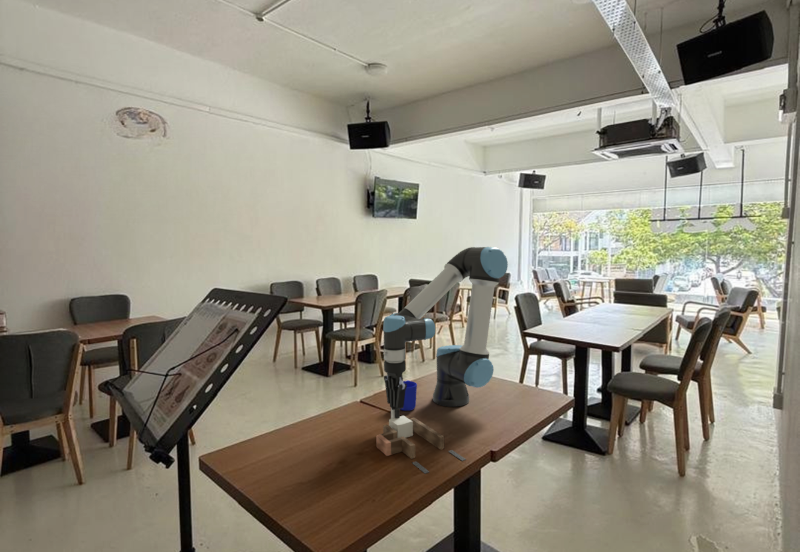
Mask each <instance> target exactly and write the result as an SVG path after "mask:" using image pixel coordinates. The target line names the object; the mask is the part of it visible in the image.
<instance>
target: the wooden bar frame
mask: <svg viewBox="0 0 800 552" xmlns="http://www.w3.org/2000/svg"><path fill="white" fill-rule="evenodd" d="M410 420H411V421H413V433H416V434H417V435H418V436H420V437H421V438H423V439H424V440H425V441H427V442H428V443H430V444H431V445H433V446H434V447H435V448H438V449H439V450H443V449H445V435H442V434H441V433H439V432H438V431H436V430H434V428H431V427H430V426H428V425H427V424H425V423H423V421H420V420H419V419H417V418H416V417H411V418H410ZM382 429H383V430H382V431H383V433H380V434H376V435H375V436H376V443H375V444H376V448H377V449H378V450H379V451H381V452H382V453H383V454H384V455H385V456H386V457H389V456H391V455H395V454H398V453H401V452H402V453H403V454H405V455H406V456H407V457H408V458H410V459H414V458H416V444H415V443H413V442H412V441H410V440H409V439H408V438H407V437H406V438H405V437H404V436H403V437H399V438H397V431H395V430H394V429H393V428H391V427H390V426H389V424H384V425H383V427H382Z"/></svg>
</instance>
